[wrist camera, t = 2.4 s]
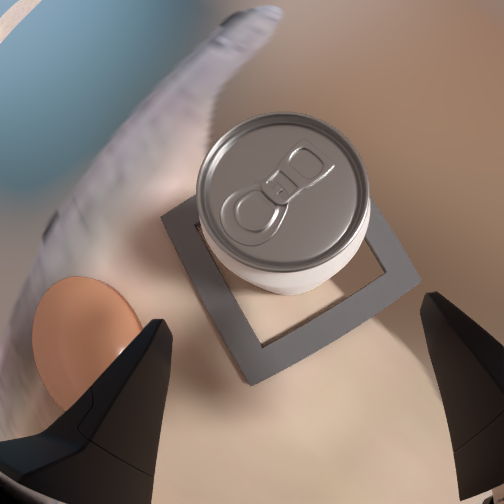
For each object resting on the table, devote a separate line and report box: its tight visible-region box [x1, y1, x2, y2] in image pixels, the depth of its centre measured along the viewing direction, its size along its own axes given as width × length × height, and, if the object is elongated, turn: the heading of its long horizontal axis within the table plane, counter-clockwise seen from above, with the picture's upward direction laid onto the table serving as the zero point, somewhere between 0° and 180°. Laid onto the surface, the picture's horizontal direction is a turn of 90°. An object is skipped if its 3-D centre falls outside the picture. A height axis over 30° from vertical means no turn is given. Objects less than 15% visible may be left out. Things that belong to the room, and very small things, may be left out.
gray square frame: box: [161, 195, 422, 386], centre depth 21 cm, size 14×14×1 cm
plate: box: [32, 277, 143, 412], centre depth 21 cm, size 13×13×1 cm
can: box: [196, 112, 370, 295], centre depth 15 cm, size 6×6×12 cm
